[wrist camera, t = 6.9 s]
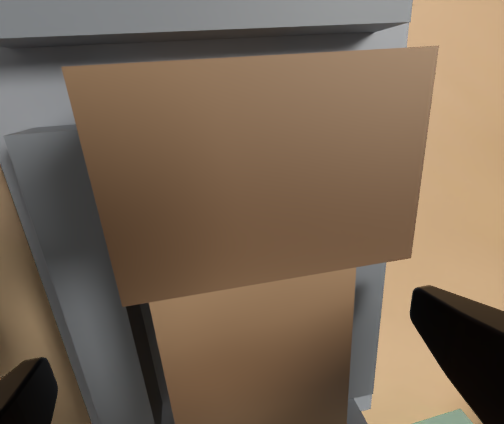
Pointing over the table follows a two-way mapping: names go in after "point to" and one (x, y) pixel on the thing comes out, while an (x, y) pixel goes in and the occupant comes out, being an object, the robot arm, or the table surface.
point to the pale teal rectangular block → (448, 418)
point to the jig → (78, 182)
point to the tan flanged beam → (255, 213)
